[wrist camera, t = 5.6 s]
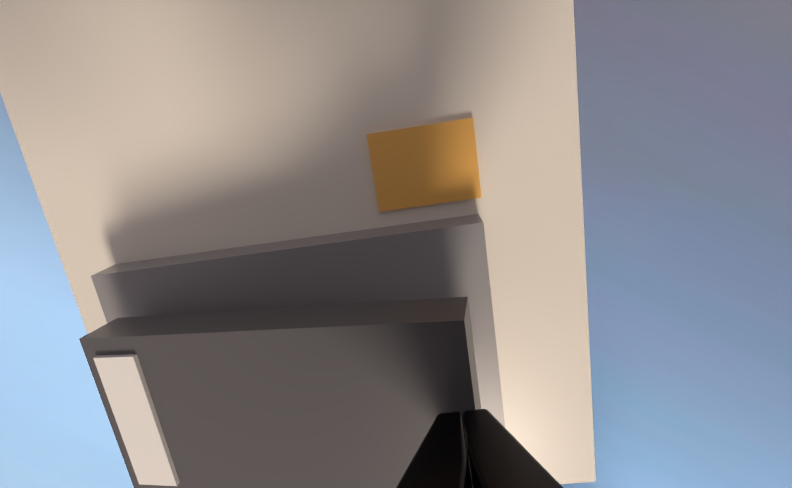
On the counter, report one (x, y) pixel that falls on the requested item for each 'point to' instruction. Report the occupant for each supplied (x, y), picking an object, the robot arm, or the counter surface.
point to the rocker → (283, 392)
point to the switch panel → (322, 171)
